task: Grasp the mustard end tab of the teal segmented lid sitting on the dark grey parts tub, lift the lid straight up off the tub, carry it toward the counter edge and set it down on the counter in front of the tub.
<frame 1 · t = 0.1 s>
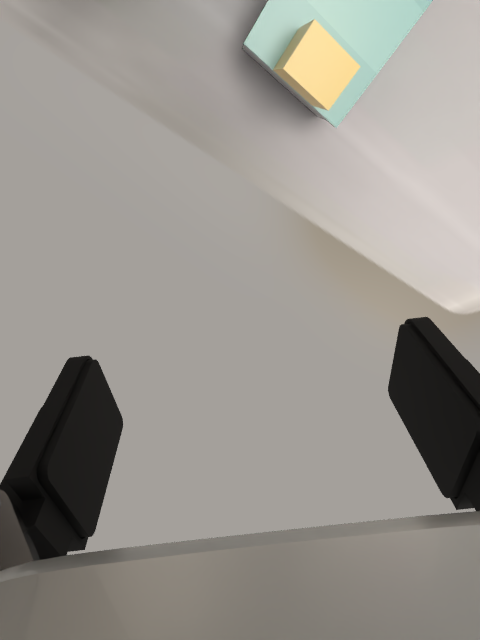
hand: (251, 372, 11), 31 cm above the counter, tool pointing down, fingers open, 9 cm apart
tub: (329, 9, 30), on the counter
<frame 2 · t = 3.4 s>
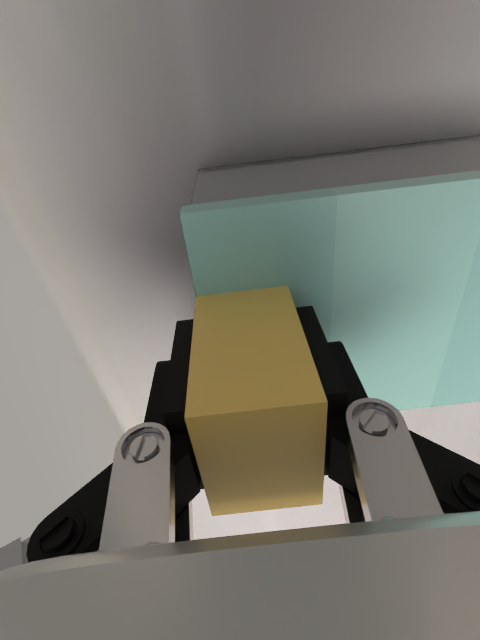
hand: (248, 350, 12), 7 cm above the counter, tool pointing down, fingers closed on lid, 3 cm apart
lid: (384, 310, 13), point 6 cm above the counter, touching gripper, tub
tub: (339, 247, 18), on the counter
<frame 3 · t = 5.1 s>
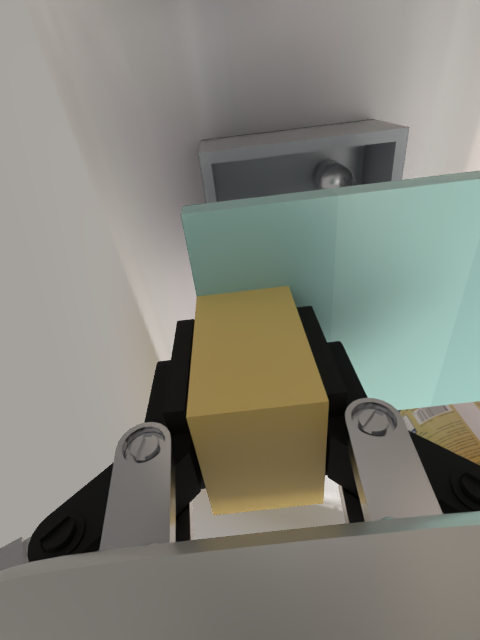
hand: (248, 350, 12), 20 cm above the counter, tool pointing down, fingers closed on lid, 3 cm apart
supplement tub: (426, 407, 46), on the counter
lid: (385, 310, 13), point 19 cm above the counter, touching gripper
tub: (288, 191, 29), on the counter
chrome mushroom knob: (327, 175, 28), point 1 cm above the counter, touching tub
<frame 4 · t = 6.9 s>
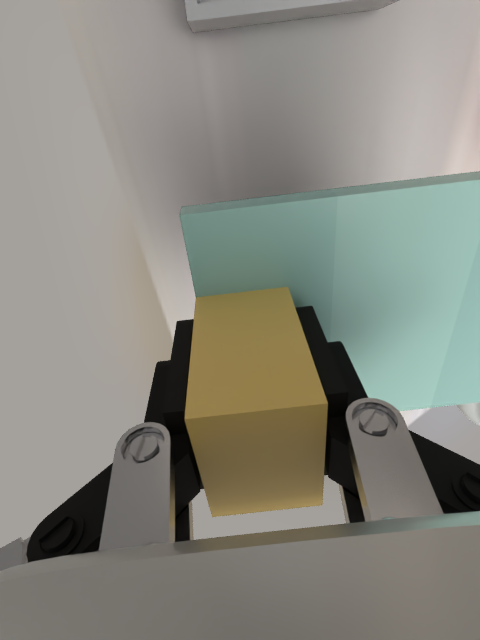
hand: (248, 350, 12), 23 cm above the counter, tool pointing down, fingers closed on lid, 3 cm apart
supplement tub: (447, 293, 39), on the counter
lid: (384, 311, 13), point 21 cm above the counter, touching gripper
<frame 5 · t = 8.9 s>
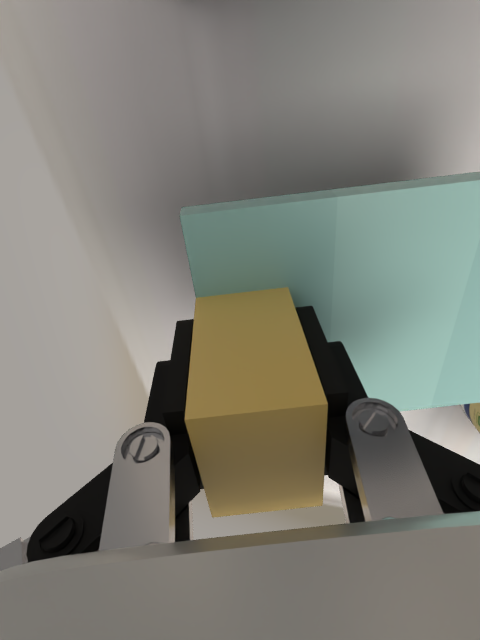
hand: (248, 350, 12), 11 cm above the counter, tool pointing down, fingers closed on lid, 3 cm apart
lid: (384, 312, 13), point 10 cm above the counter, touching gripper
when the fingers open (3 cm above the counter, at t = 10.7 s): lid drops 1 cm, point 1 cm above the counter.
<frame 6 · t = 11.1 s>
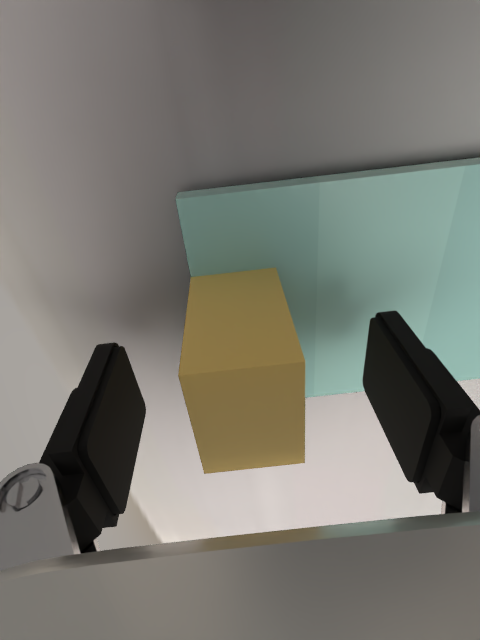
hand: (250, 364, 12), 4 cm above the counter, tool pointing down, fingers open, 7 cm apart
lid: (367, 293, 14), point 1 cm above the counter
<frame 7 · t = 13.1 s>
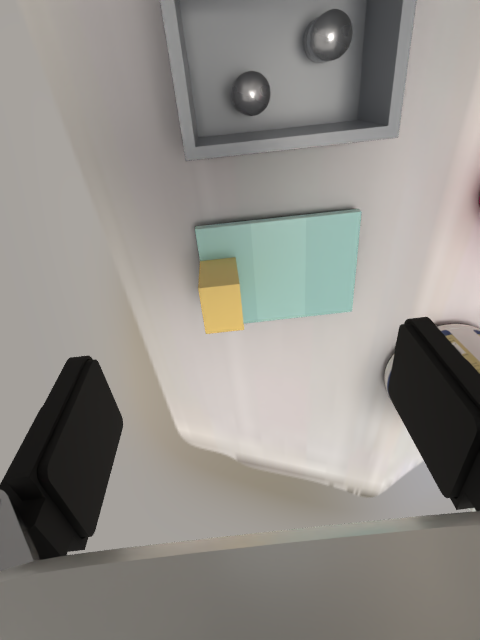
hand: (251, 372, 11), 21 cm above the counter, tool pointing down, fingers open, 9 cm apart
supplement tub: (433, 362, 40), on the counter
lid: (278, 270, 32), point 1 cm above the counter
dark grey rounded piece: (248, 94, 25), point 1 cm above the counter, touching tub
tub: (274, 65, 24), on the counter
chrome mushroom knob: (321, 40, 23), point 1 cm above the counter, touching tub
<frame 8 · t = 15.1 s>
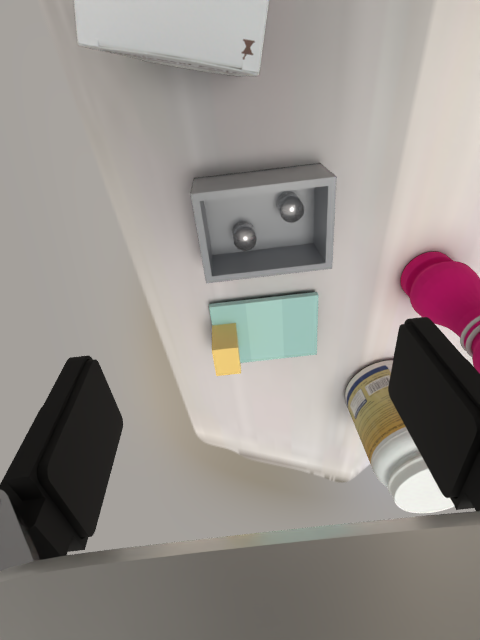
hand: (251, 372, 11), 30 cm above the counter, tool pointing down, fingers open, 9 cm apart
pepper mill: (424, 273, 45), on the counter
supplement tub: (381, 385, 55), on the counter
lid: (265, 328, 47), point 1 cm above the counter
dark grey rounded piece: (243, 231, 39), point 1 cm above the counter, touching tub
tub: (260, 214, 39), on the counter
chrome mushroom knob: (288, 203, 38), point 1 cm above the counter, touching tub
supplement box: (195, 1, 29), on the counter
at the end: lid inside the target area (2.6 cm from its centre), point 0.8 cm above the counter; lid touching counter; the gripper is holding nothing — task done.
